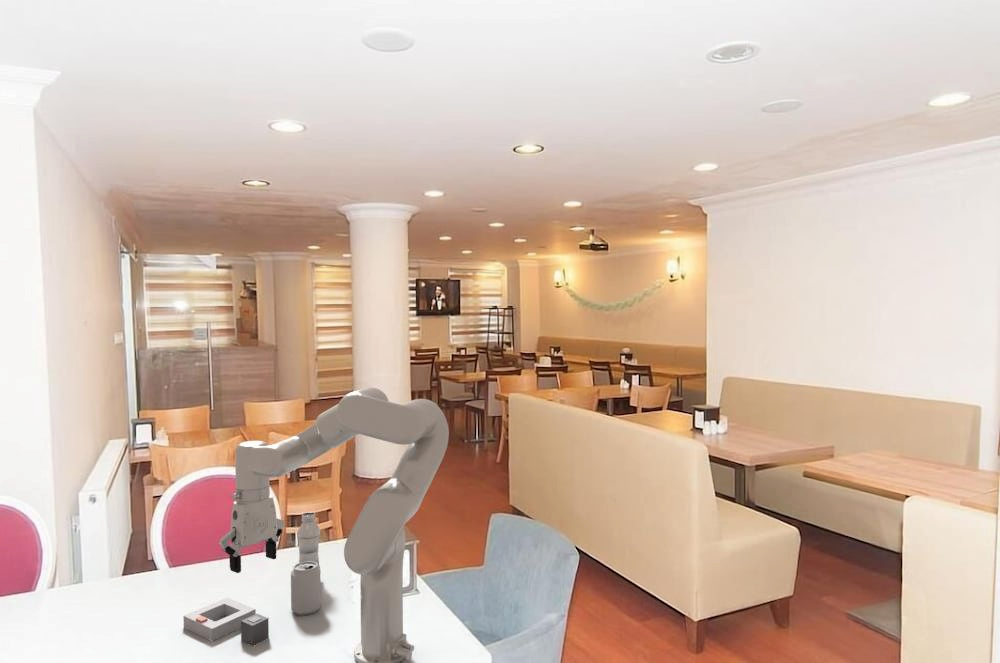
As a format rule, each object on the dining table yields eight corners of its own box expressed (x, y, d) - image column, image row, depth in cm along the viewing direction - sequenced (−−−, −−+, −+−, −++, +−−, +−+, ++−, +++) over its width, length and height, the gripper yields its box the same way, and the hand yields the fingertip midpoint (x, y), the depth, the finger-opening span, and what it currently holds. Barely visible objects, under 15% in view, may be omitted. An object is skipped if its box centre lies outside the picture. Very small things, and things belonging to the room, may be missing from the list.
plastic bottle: (292, 585, 183) (291, 516, 183) (306, 576, 190) (305, 509, 189) (312, 588, 181) (311, 518, 181) (325, 578, 188) (324, 511, 187)
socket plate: (255, 620, 162) (255, 607, 162) (212, 641, 152) (211, 626, 152) (227, 608, 169) (227, 595, 169) (183, 627, 159) (183, 613, 159)
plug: (268, 638, 154) (268, 617, 153) (252, 646, 150) (252, 625, 150) (257, 633, 156) (256, 612, 156) (241, 641, 152) (240, 620, 152)
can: (312, 617, 164) (311, 571, 163) (285, 615, 165) (285, 569, 165) (325, 604, 171) (325, 560, 171) (300, 602, 173) (299, 558, 172)
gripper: (229, 505, 143) (230, 581, 143) (292, 487, 157) (293, 556, 158) (209, 500, 147) (211, 573, 147) (273, 483, 161) (274, 550, 162)
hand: (253, 564), depth 153 cm, fingers open, 9 cm apart
